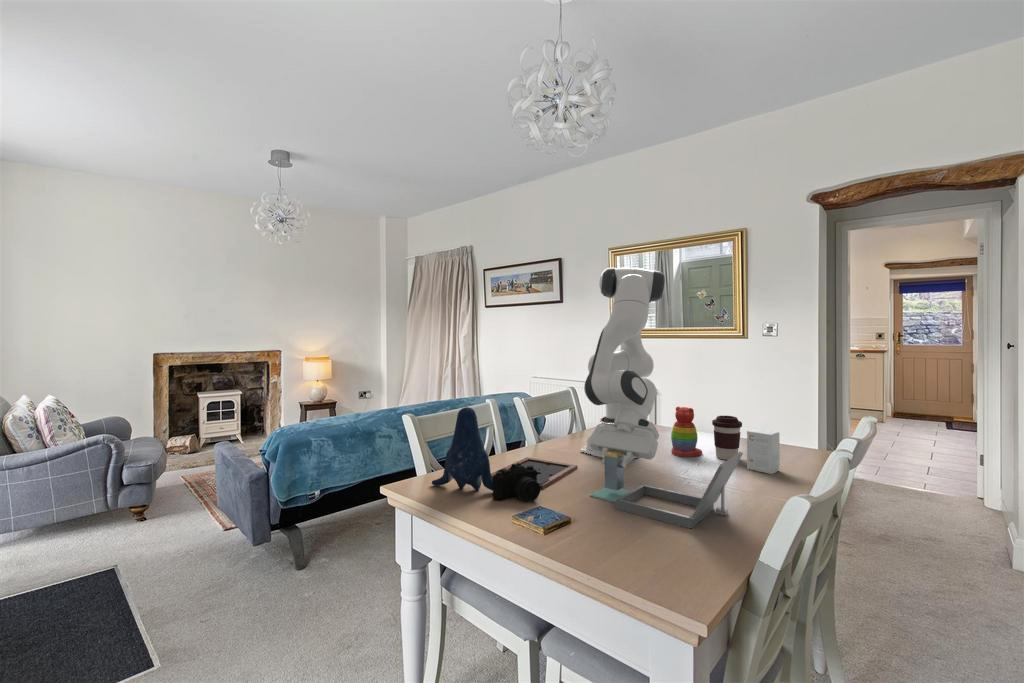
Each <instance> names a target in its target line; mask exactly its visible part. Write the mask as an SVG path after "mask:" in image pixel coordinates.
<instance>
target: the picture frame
mask: <svg viewBox="0 0 1024 683" xmlns="http://www.w3.org/2000/svg"><path fill="white" fill-rule="evenodd" d="M517 463H520V464H521V466H524V467H525V468H527V466H533V468H534V469H536V471H537V472H541V474H538V475H537V483H538V484H539V487H540V491H543V490H544V489H546V488H547V487H549V486H551V485H553V484H555V483H556V482H557V480H558V481H559V480H561V479H563V478H565V477H566V476H567V474H568V475H569V474H570V472H571V473H572V471H573V472H574V471H575V469H576V470H577V469H578V464H572V463H565V462H560V461H559V462H558V461H553V460H545V459H540V458H533V457H528V456H527V457H525V458H522V459H520V460H518V461H515V462H513V463H511V464H508V465H507V466H504V467H502V468H501V469H510V468H511V466H512V464H517ZM497 471H498V470H496V471H493V472H492V473H491V477H492V479H493V475H495V474H496V473H497ZM565 475H566V476H565ZM562 477H563V478H562Z"/></svg>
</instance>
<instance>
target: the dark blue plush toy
mask: <svg viewBox="0 0 1024 683" xmlns="http://www.w3.org/2000/svg"><path fill="white" fill-rule="evenodd" d="M490 465H491V464H490V458H489V455H488V452H487V451H486V449H485V446H484V443H483V440H482V437H481V434H480V430H479V424H478V416H477V413H476V411H475V410H474V409H473V408H472V407H469V406H465V407H463V408H461V409H459V411H458V412H457V416H456V422H455V428H454V434H453V436H452V442H451V445H450V448H449V449H448V450H447V452H446V455H445V460H444V468H443V469H444V470H443V474H442V475H441V477H439V478H437V479H434V480H432V481H431V485H433V486H443V485H446V484H448V483H450V482H452V480H454V481H455V482H456V484H457V486H458V488H459V489H461V488H462V489H464V488H465V486H466V485H468V486H471V487H472V488H473V489H474V490H475V491H479V490H480V488H481V486H482V485H483V487H485V488H486V489H488V490H490V491H492V492H493V479H492V477H491V466H490ZM462 489H461V490H462Z"/></svg>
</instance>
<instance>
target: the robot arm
mask: <svg viewBox="0 0 1024 683" xmlns="http://www.w3.org/2000/svg"><path fill="white" fill-rule="evenodd" d="M602 271H603V272H602V273H601V275H600V278H599V280H598V281H599V283H598V284H599V285H598V286H599V289H600V290H599V291H600V293H601V294H602V295H603V297H606V298H608V299H612V298H613V306H612V310H611V314H610V316H609V319H608V321H607V323H606V325H605V326H604V328H602V330H601V333H600V335H599V338H598V341H597V345H596V348H595V349H596V350H595V352H594V354H592V355H591V357H590V358H589V360H588V363H587V369H588V370H587V371H588V374H587V377H586V379H585V382H584V393H585V396H586V398H587V399H588V401H590V403H592V404H593V405H595V406H603V405H605V416H603V417H602V418H600V419H599V422H600V423H598V424H597V425H596V427H595V428H594V430H593V432H591V433H590V434H589V435H588V437H587V440H586V445H584V446H582V447H581V448H580V453H583V452H584V453H583V454H586V453H587V455H590V454H591V456H594V457H598V458H602V460H601V463H602V464H603V465H604V453H605V452H608V451H610V450H614V451H620V452H624V460H620V463H619V466H620V468H624V470H626V468H627V466H628V465H629V463H631V462H632V461H633V460H634V459H636V458H638V459H644V460H651V461H652V460H653V459H654V458H655V456H656V454H657V451H658V445H659V443H658V442H659V441H658V439H659V437H660V434H659V432H658V429H657V427H656V425H655V424H654V423H653V422H652V421H650V420H648V416H650V414H651V412H652V410H653V407H654V404H655V401H656V395H657V388H656V386H655V383H653V381H651V380H650V379H648V377H649V376H651V375H652V373H653V369H654V360H653V358H652V356H651V354H650V353H648V352H647V350H646V349H645V347H644V345H643V341H642V331H643V329H644V328H645V327H646V324H647V322H648V318H649V309H650V303H652V302H658V301H660V300H661V299H662V298H663V296H664V293H665V292H666V290H667V281H666V278H665V274H664V273H663V272H661V271H658V270H655V269H653V270H650V269H645V268H639V267H633V268H631V267H617V268H616V267H607V268H606V269H604V270H602ZM619 346H620V350H619V351H618V350H617V349H618V347H619ZM616 350H617V351H616Z"/></svg>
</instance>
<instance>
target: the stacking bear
mask: <svg viewBox="0 0 1024 683" xmlns="http://www.w3.org/2000/svg"><path fill="white" fill-rule="evenodd" d="M674 415H675V420H676V421H675V422H674V423H673V426H672V431H671V435H670V438H671V439H670V440H671V445H672V447H671V451H670V452H672V453H671V454H672V455H673V454H674V455H673V456H676V455H678V456H677V457H681V456H684V457H683V458H693V457H694V456H695V457H699V456H701V455H703V451H702V449H700V448H698V447H697V444H698V437H699V436H698V433H697V432H698V431H697V427H696V426H695V423H694V422H693V421H694V418H695V413H694V409H693V408H692V407H686V406H682V407H681V406H676V407H675V413H674Z"/></svg>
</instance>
